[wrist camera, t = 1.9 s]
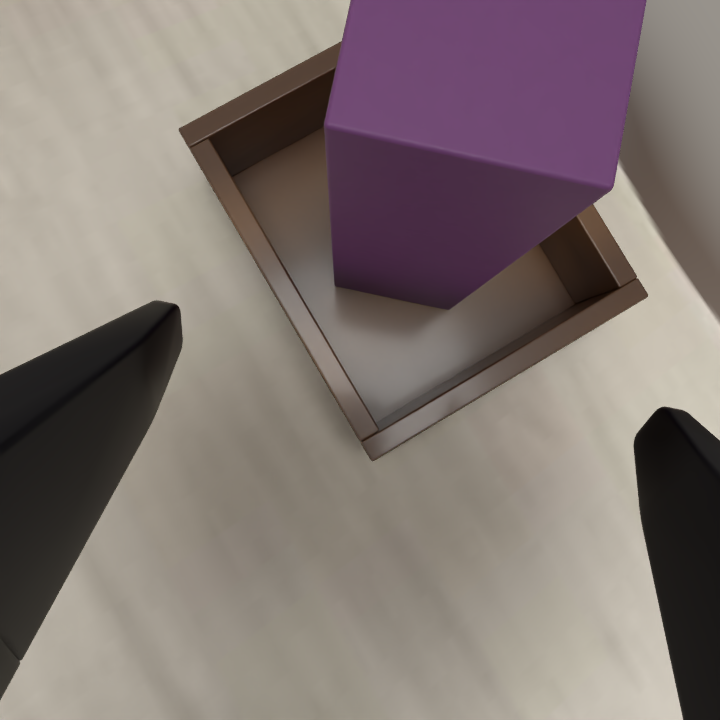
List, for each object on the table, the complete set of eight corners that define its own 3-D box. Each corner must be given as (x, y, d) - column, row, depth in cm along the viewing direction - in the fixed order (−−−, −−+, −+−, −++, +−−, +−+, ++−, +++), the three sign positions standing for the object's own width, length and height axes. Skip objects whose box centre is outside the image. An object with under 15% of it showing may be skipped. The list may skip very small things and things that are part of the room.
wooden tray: (594, 312, 22) (649, 295, 18) (366, 448, 21) (371, 462, 18) (436, 50, 23) (456, -22, 19) (207, 176, 22) (177, 128, 18)
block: (449, 310, 21) (615, 190, 9) (333, 286, 21) (322, 126, 8) (471, 197, 22) (663, -85, 9) (357, 172, 22) (382, -151, 9)
